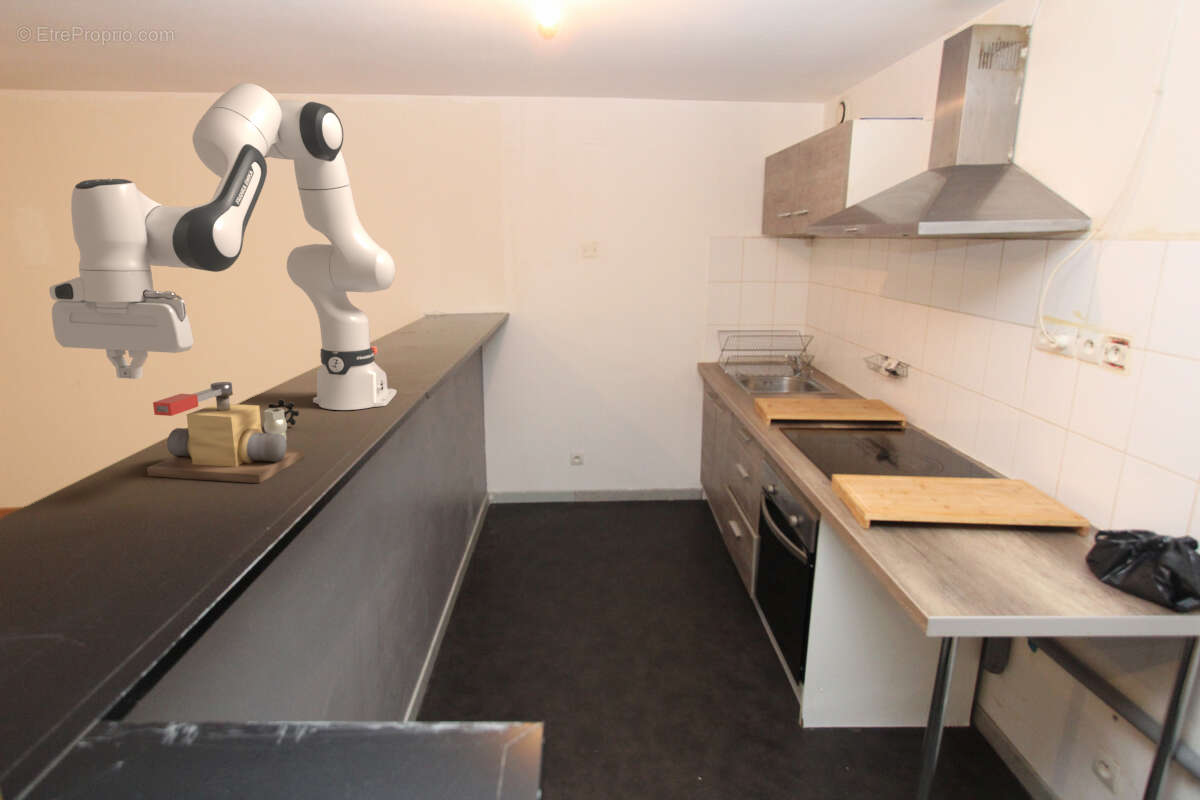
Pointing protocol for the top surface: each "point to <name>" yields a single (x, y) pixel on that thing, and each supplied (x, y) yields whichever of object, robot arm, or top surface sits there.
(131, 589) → the top surface
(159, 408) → the valve lever
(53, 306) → the robot arm
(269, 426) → the valve
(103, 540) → the top surface
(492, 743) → the top surface
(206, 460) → the valve manifold
